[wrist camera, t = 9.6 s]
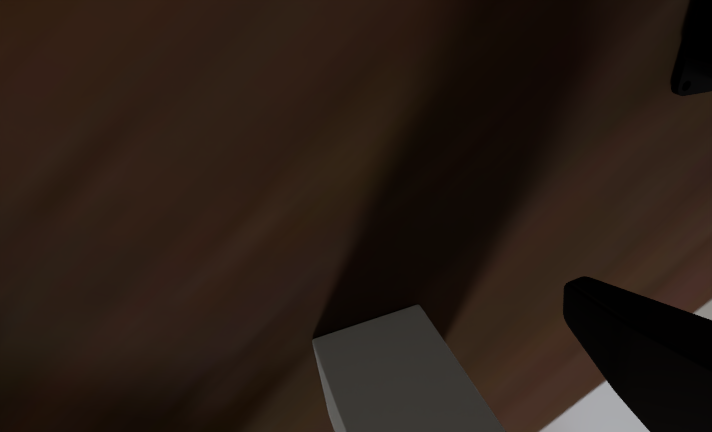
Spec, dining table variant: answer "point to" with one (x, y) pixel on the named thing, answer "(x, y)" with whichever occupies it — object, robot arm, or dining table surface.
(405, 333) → the milk
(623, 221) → the dining table surface
